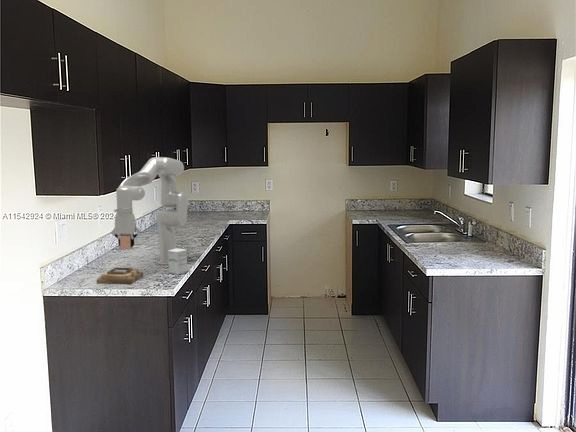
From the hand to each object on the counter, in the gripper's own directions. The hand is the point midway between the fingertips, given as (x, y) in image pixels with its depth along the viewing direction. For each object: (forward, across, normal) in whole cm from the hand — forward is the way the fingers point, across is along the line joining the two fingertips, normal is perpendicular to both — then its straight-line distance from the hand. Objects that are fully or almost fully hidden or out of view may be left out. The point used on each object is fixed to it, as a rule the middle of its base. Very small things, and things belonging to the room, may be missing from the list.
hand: (126, 246), depth 272 cm
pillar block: (+1, 0, 0) cm, 1 cm away
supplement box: (+18, +24, +14) cm, 33 cm away
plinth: (+18, -4, 0) cm, 18 cm away
